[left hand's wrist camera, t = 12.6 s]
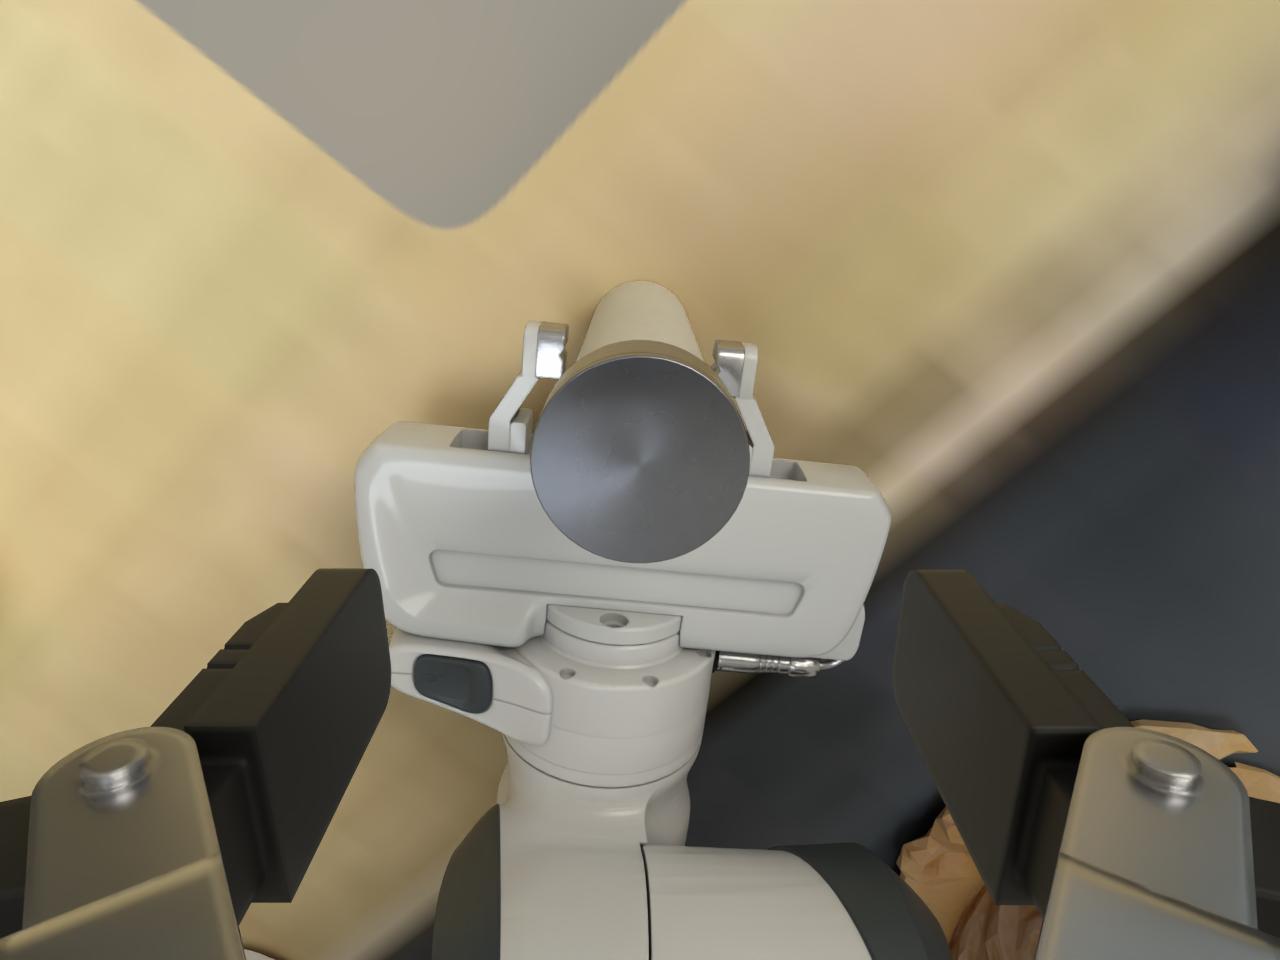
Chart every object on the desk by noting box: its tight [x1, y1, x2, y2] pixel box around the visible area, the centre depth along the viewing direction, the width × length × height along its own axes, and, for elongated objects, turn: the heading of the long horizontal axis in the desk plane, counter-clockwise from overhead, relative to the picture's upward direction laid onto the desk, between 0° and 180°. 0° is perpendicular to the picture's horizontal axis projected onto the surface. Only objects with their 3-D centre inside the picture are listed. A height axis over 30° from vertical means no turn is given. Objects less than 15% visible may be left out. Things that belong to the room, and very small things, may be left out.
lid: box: [530, 340, 750, 563], centre depth 19 cm, size 5×5×2 cm
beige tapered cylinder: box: [576, 281, 704, 362], centre depth 27 cm, size 4×4×18 cm
